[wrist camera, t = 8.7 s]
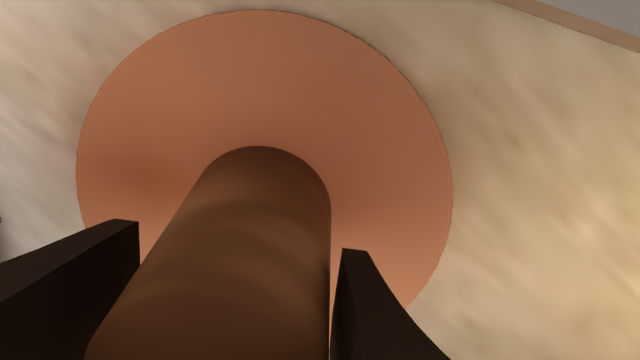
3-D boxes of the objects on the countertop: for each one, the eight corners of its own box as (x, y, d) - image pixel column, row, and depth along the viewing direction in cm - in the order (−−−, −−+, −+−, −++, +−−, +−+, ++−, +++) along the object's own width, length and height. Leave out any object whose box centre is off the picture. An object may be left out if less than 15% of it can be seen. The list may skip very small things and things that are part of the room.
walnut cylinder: (339, 154, 14) (343, 309, 7) (322, 275, 16) (314, 484, 9) (192, 137, 14) (69, 279, 7) (192, 261, 16) (93, 461, 9)
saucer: (513, 87, 14) (522, 92, 13) (371, 378, 18) (372, 394, 17) (117, -50, 13) (103, -53, 12) (70, 289, 17) (57, 302, 17)
